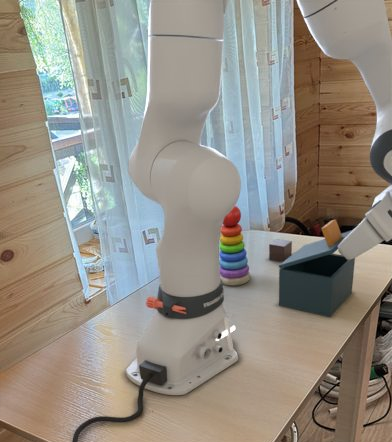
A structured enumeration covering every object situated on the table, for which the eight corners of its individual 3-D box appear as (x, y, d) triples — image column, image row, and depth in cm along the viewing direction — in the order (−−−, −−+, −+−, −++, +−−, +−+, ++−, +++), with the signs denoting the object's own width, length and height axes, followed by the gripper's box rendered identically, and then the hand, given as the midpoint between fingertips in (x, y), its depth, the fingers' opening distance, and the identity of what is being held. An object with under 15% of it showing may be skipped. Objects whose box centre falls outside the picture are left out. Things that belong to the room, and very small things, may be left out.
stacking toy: (250, 272, 131) (248, 199, 121) (250, 286, 124) (248, 209, 114) (219, 273, 132) (215, 201, 122) (217, 287, 125) (213, 211, 115)
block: (284, 262, 135) (284, 246, 132) (269, 259, 137) (269, 244, 135) (291, 256, 138) (291, 241, 135) (276, 254, 140) (276, 238, 138)
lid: (356, 232, 110) (348, 211, 108) (333, 253, 101) (324, 230, 100) (305, 248, 118) (297, 229, 117) (279, 268, 110) (271, 248, 109)
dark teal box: (351, 293, 117) (355, 257, 112) (329, 317, 109) (332, 279, 104) (303, 283, 123) (304, 248, 119) (278, 305, 115) (279, 269, 110)
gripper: (403, 182, 103) (351, 223, 113) (368, 212, 89) (312, 256, 100) (423, 207, 103) (369, 246, 113) (390, 240, 89) (333, 281, 100)
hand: (342, 251), depth 106 cm, fingers closed
